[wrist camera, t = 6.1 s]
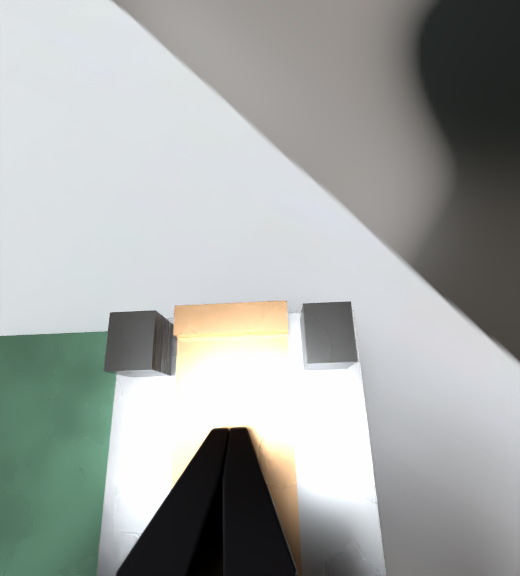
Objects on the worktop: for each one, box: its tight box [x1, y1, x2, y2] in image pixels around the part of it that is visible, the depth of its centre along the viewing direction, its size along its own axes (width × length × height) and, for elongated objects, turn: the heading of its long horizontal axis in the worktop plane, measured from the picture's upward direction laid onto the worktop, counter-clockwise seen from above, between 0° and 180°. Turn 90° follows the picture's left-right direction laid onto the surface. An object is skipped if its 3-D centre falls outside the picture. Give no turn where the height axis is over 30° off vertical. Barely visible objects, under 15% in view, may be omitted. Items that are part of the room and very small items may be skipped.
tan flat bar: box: [170, 301, 302, 576], centre depth 9 cm, size 8×3×1 cm, turn 2°
